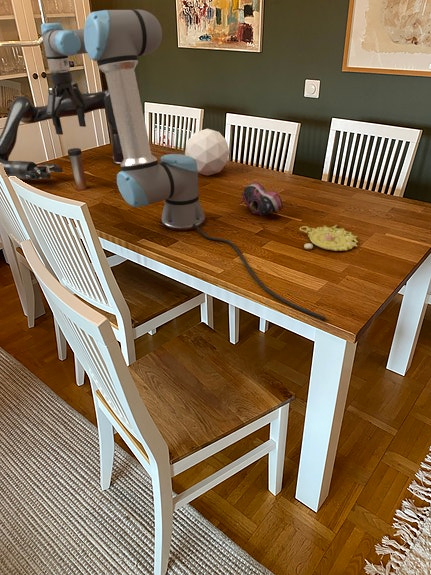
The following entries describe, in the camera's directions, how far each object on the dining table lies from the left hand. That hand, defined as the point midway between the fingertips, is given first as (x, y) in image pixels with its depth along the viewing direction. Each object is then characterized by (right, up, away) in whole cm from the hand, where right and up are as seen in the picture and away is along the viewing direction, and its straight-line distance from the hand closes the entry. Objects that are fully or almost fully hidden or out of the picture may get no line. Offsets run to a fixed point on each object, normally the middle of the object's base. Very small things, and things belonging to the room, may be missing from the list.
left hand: (55, 172), depth 188 cm
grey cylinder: (+11, -7, 0) cm, 13 cm away
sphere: (+65, +3, +12) cm, 66 cm away
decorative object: (+104, -34, -47) cm, 119 cm away
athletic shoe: (+84, -21, -26) cm, 90 cm away
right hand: (+11, +14, -12) cm, 21 cm away
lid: (+11, +7, -8) cm, 15 cm away
